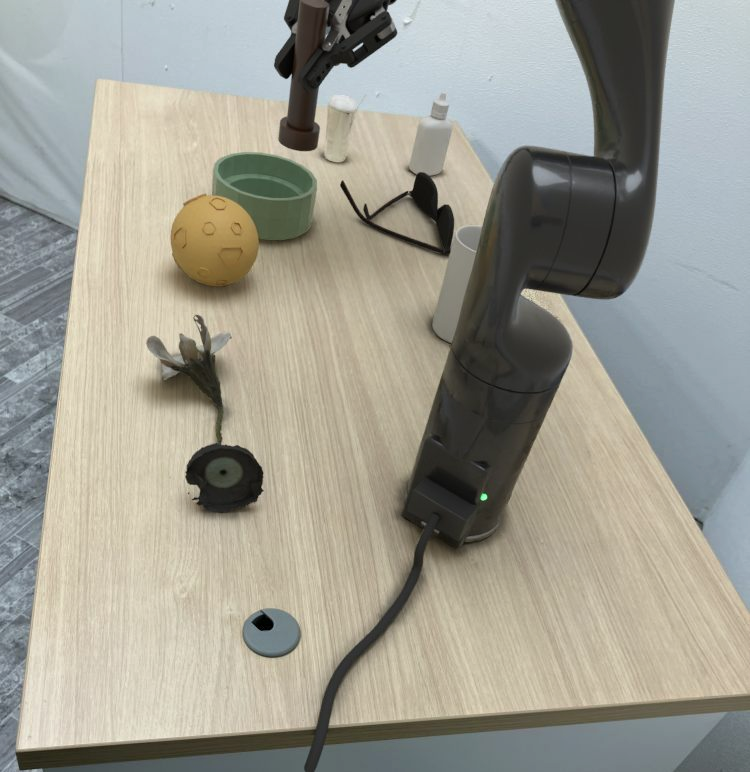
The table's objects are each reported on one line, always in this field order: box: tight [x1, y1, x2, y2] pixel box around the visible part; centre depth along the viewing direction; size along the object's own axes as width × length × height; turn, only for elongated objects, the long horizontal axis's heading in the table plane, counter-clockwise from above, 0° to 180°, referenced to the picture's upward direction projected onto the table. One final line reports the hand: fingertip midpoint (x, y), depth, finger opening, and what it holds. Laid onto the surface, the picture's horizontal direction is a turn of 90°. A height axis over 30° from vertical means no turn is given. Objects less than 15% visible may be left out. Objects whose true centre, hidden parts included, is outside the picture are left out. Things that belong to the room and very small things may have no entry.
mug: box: [431, 224, 483, 344], centre depth 95 cm, size 10×7×12 cm, turn 1°
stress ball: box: [169, 193, 260, 287], centre depth 92 cm, size 10×10×10 cm
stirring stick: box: [277, 0, 330, 152], centre depth 85 cm, size 4×4×14 cm
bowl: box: [211, 151, 318, 241], centre depth 106 cm, size 13×13×6 cm
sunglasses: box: [339, 172, 455, 255], centre depth 112 cm, size 17×14×5 cm
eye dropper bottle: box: [408, 91, 454, 177], centre depth 125 cm, size 4×6×12 cm
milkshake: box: [323, 94, 367, 163], centre depth 122 cm, size 4×5×10 cm
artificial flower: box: [145, 314, 265, 514], centre depth 75 cm, size 9×22×10 cm, turn 11°
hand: (291, 79), depth 84 cm, fingers closed on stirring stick, 3 cm apart
